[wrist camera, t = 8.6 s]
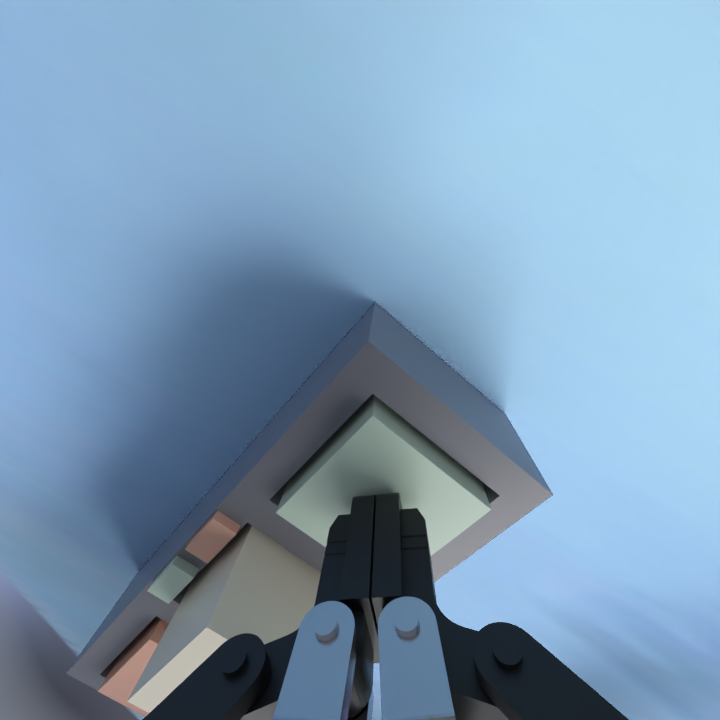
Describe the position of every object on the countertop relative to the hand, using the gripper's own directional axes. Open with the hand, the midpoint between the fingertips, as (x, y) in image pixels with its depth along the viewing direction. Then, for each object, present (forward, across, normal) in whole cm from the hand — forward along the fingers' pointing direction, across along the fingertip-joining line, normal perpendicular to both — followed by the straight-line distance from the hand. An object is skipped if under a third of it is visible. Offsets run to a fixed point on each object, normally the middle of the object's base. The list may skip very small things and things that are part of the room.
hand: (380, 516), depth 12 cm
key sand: (+2, +5, +4) cm, 7 cm away
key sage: (+5, 0, 0) cm, 5 cm away
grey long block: (+6, +5, +4) cm, 9 cm away
